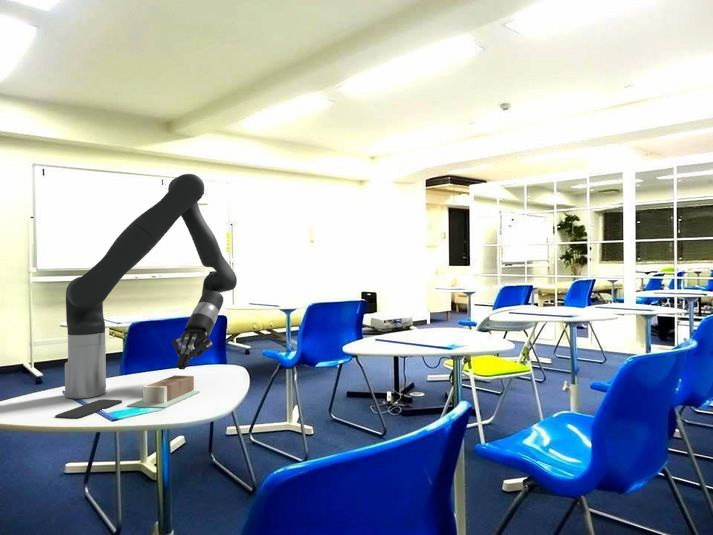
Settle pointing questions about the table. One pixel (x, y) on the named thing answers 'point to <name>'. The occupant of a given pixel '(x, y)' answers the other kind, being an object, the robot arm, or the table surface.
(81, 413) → the phone
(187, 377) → the walnut block
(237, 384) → the table surface
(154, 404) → the green mat
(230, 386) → the table surface
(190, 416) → the table surface
